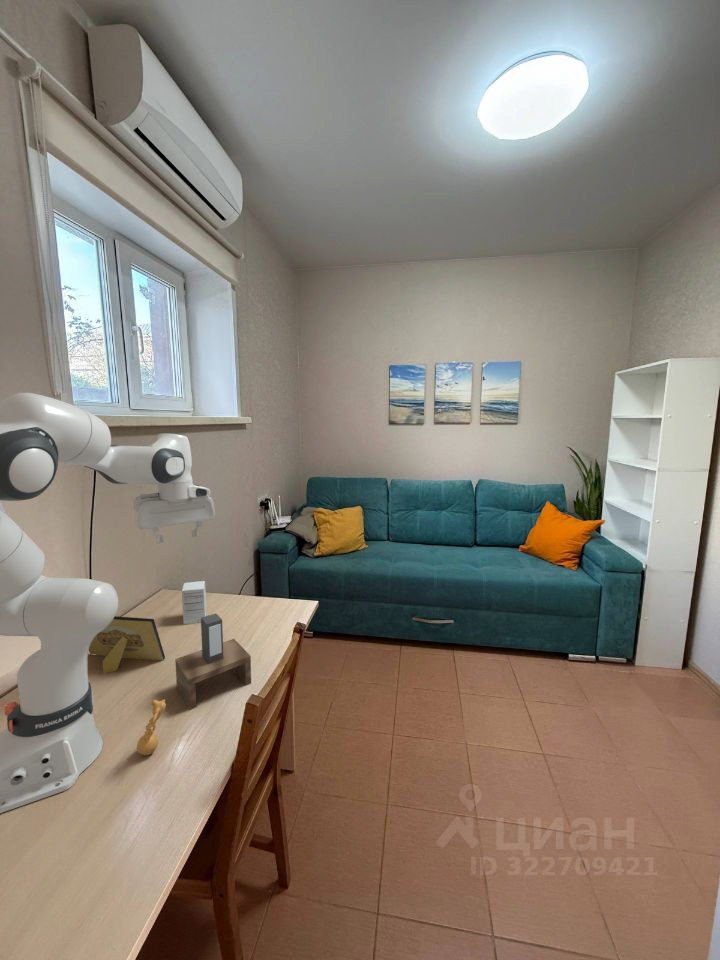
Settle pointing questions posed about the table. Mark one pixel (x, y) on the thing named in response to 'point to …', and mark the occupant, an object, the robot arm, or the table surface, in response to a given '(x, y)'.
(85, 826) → the table surface
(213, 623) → the tall grey pillar block
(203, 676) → the walnut shelf
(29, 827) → the table surface
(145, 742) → the figurine
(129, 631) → the picture frame
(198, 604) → the supplement box
